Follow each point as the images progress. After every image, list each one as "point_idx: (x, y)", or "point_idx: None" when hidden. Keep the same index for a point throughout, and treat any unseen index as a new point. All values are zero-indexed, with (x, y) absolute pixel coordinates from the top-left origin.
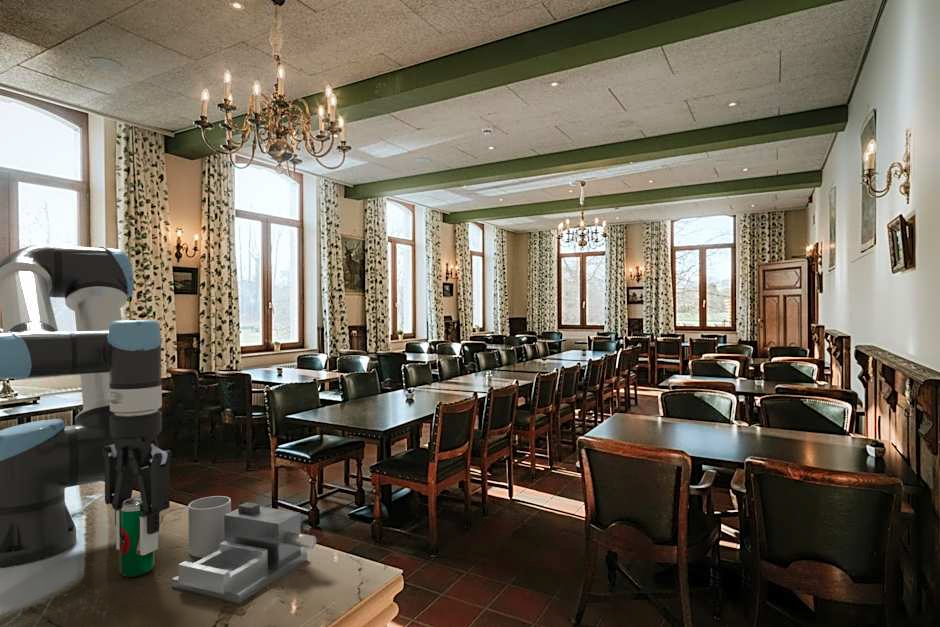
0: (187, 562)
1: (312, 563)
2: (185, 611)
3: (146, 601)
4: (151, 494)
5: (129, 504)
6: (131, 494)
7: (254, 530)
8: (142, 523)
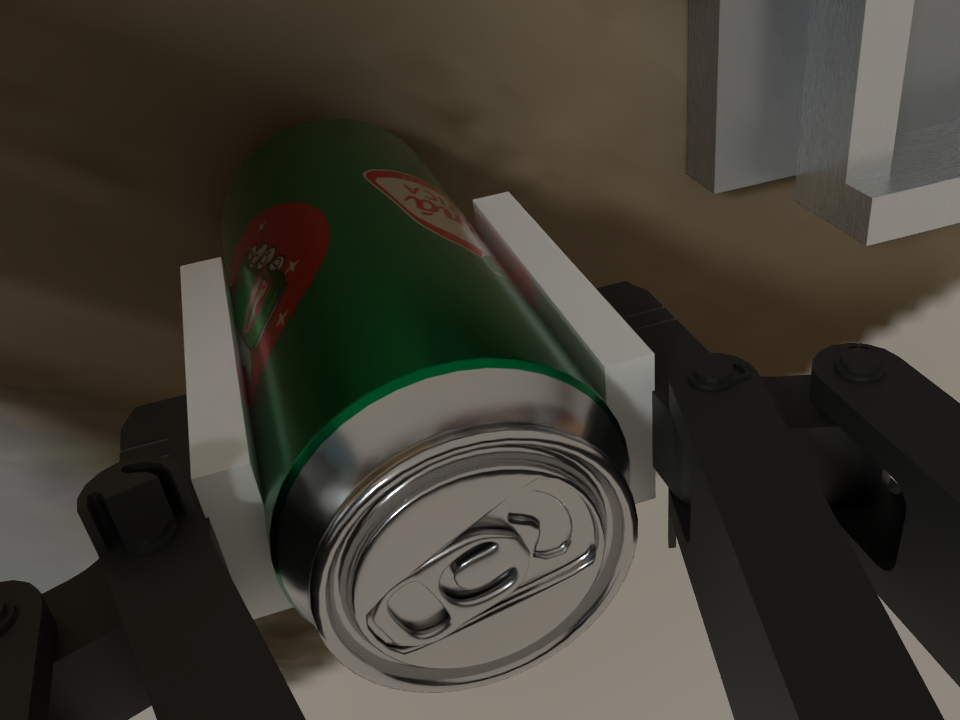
0: (902, 197)
1: None
2: (920, 252)
3: (679, 315)
4: (920, 636)
5: (524, 644)
6: (236, 594)
7: None
8: None
